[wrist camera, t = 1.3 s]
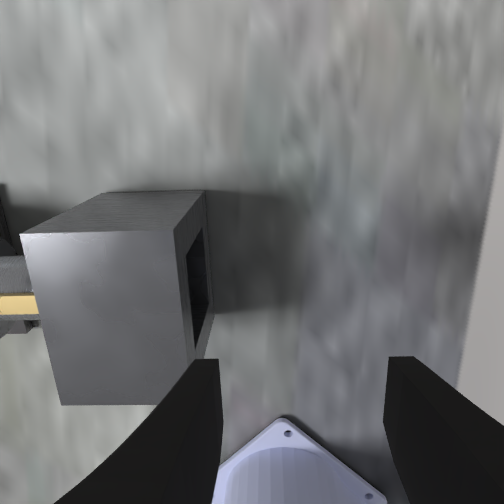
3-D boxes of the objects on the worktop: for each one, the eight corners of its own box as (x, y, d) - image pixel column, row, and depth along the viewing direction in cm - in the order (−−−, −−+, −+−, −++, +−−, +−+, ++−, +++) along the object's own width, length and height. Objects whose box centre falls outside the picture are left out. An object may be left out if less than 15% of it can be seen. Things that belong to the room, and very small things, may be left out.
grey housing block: (204, 189, 19) (172, 229, 12) (214, 315, 21) (191, 404, 15) (102, 193, 19) (19, 234, 13) (122, 317, 21) (61, 405, 15)
